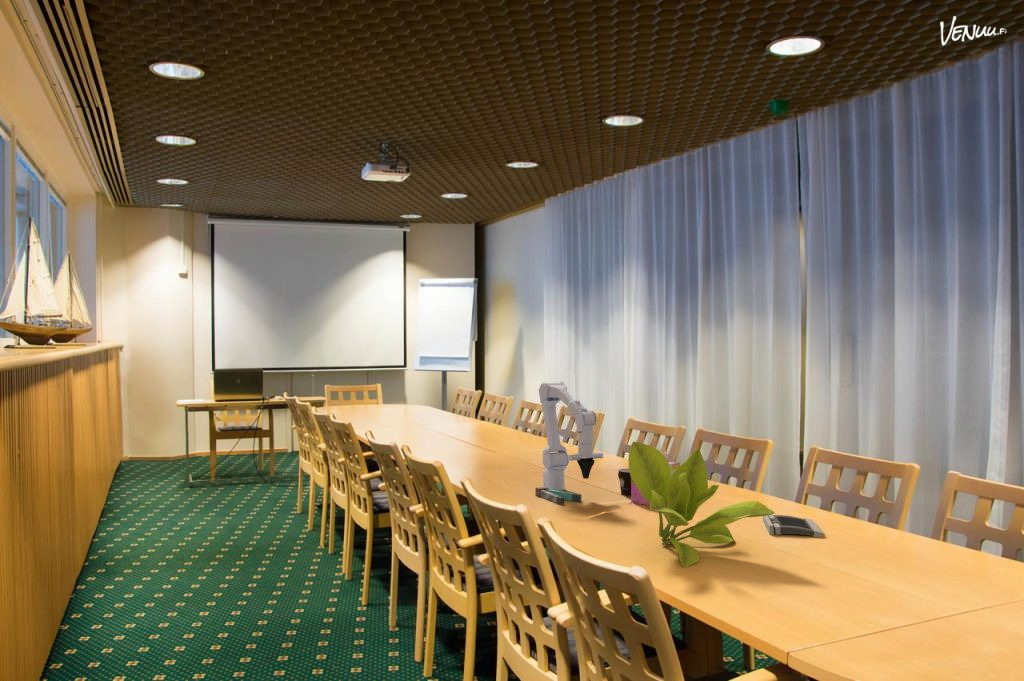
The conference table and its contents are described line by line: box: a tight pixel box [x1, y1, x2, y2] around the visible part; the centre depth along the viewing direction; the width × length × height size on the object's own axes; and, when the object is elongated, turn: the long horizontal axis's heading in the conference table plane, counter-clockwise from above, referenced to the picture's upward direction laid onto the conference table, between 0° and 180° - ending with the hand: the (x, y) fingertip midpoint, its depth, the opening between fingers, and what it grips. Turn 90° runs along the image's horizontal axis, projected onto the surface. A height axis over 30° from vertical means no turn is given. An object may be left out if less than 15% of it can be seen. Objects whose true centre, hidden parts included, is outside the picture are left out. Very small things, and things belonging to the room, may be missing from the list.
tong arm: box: [549, 490, 582, 503], centre depth 288 cm, size 14×2×3 cm, turn 51°
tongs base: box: [534, 486, 565, 506], centre depth 288 cm, size 19×4×4 cm, turn 26°
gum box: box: [630, 461, 681, 506], centre depth 291 cm, size 24×8×14 cm, turn 135°
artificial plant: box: [627, 441, 776, 568], centre depth 224 cm, size 42×43×30 cm
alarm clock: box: [762, 514, 824, 538], centre depth 245 cm, size 17×5×16 cm
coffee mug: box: [617, 467, 631, 498], centre depth 299 cm, size 12×9×10 cm
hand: (585, 478), depth 289 cm, fingers closed
